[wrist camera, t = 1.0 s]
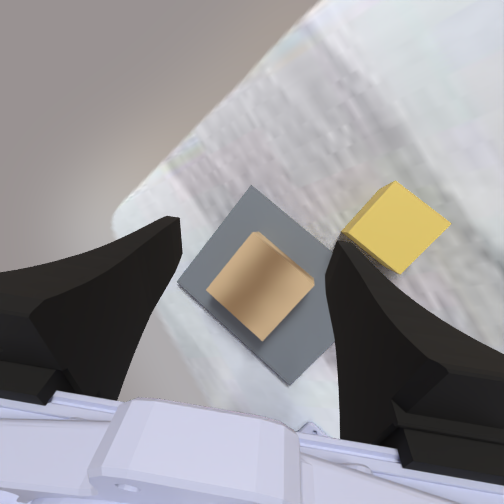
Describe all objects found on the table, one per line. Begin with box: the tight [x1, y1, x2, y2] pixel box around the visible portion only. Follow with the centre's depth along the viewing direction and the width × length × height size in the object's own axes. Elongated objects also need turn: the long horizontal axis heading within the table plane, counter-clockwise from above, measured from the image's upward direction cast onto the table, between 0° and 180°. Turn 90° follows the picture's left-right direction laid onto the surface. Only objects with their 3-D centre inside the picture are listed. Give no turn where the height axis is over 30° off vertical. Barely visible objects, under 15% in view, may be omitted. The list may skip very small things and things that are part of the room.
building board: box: [177, 185, 335, 385], centre depth 26 cm, size 16×13×1 cm
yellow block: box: [341, 181, 451, 274], centre depth 21 cm, size 5×5×4 cm
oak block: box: [206, 232, 315, 341], centre depth 24 cm, size 7×7×3 cm
